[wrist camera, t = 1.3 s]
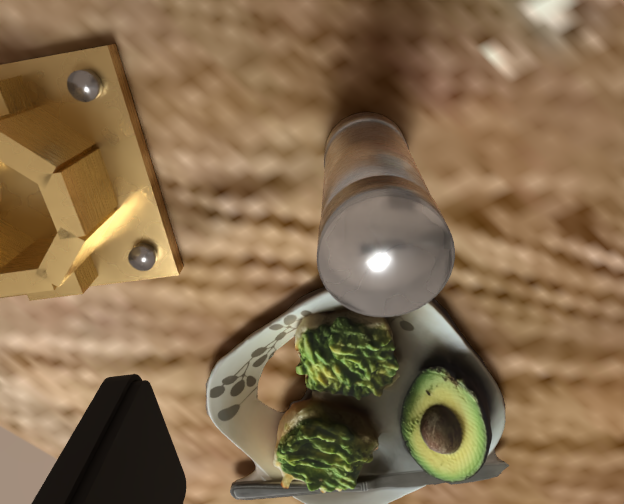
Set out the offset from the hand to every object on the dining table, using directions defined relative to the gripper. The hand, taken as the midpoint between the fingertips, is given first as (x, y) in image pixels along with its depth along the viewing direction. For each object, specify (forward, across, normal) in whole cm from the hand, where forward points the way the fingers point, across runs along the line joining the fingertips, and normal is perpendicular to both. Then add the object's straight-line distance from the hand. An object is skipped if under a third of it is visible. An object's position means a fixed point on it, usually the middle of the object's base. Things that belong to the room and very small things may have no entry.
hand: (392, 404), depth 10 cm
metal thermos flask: (+18, -1, 0) cm, 18 cm away
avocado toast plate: (+19, +1, +16) cm, 25 cm away
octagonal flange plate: (+18, +16, -1) cm, 25 cm away
